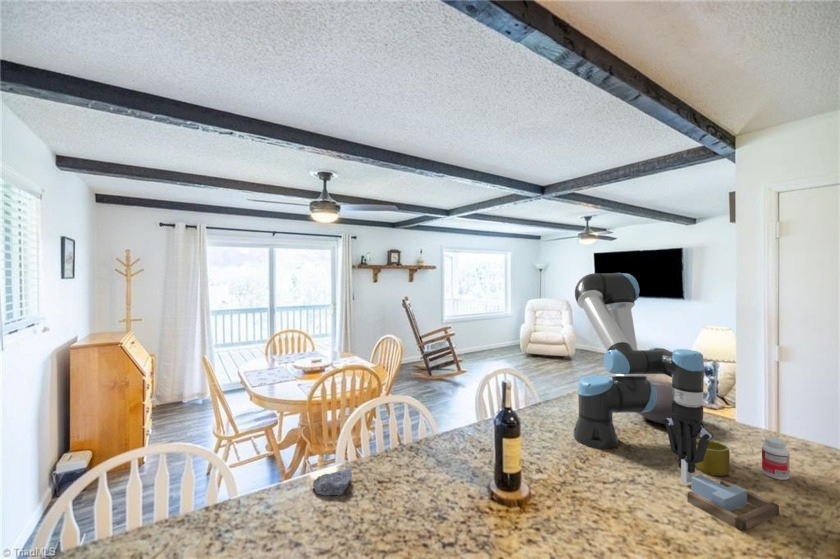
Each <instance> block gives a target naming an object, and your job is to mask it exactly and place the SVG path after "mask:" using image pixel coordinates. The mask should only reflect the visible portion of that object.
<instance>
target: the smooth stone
mask: <svg viewBox="0 0 840 559" xmlns="http://www.w3.org/2000/svg"><path fill="white" fill-rule="evenodd" d="M653 385H654V387H655V389H656V393H657V401H656V404H655V406H654V408H653V409H652V410H651V411H649V412H641V413H638V414H639V415H640V416H641V417H643V418H645V419H648V420H650V421H651V422H654V423H658V424H661V425H665V424H664V422H663V420H664V419H667V418H671V416H672V415H673V413H672V401H674V400H673V399H672V385H668V384H667V385H666V384H657V383H656V384H653Z"/></svg>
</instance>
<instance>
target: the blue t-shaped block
mask: <svg viewBox="0 0 840 559" xmlns="http://www.w3.org/2000/svg"><path fill="white" fill-rule="evenodd" d="M690 483H691V485H690V492H693V493H695V494H697V495H699V496H701V497H703V498H705V499H707V500H709V501H711V502H712V503H714V504H716V505H718V506H720V507H722V508H724V509H726V510H728V511H730V512H732V513H733V511H735V510H738V508H739V509H741V508H743V506H744V507H746V506H747V505H748V503H747V491H748V490H747V489H744V488H742V487H740V486H738V485H735V484H734V485H732V486H730V487H726V486H724V485H722V484H720V482H717V481H715V480H713V479H710V478H708V477H707V476H705V475H702V474H697V475H694V476H692V477H691V482H690Z"/></svg>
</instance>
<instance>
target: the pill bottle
mask: <svg viewBox="0 0 840 559" xmlns="http://www.w3.org/2000/svg"><path fill="white" fill-rule="evenodd" d="M786 447H787V442H786V441H785V440H784V439H782V438H779V437H775V436H766V437H765V438H764V444H762V445H761V471H762V473H763V474H764V475H766V476H767V477H770V478H771V479H776V480H779V481H780V480H781V481H786V480H787V481H788V479H790V452H789V450H788V449H787V448H786Z"/></svg>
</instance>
